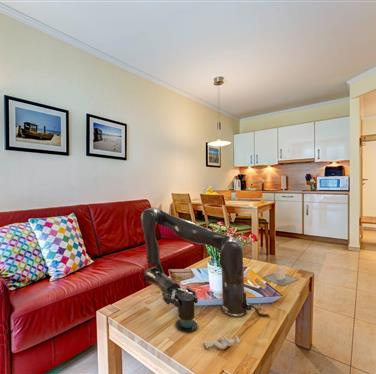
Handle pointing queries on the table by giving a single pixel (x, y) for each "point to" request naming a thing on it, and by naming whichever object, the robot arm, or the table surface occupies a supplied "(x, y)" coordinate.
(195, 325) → the green post with base
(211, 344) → the soldier figure
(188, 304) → the black cylinder
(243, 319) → the table surface
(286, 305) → the table surface
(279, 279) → the architectural model
